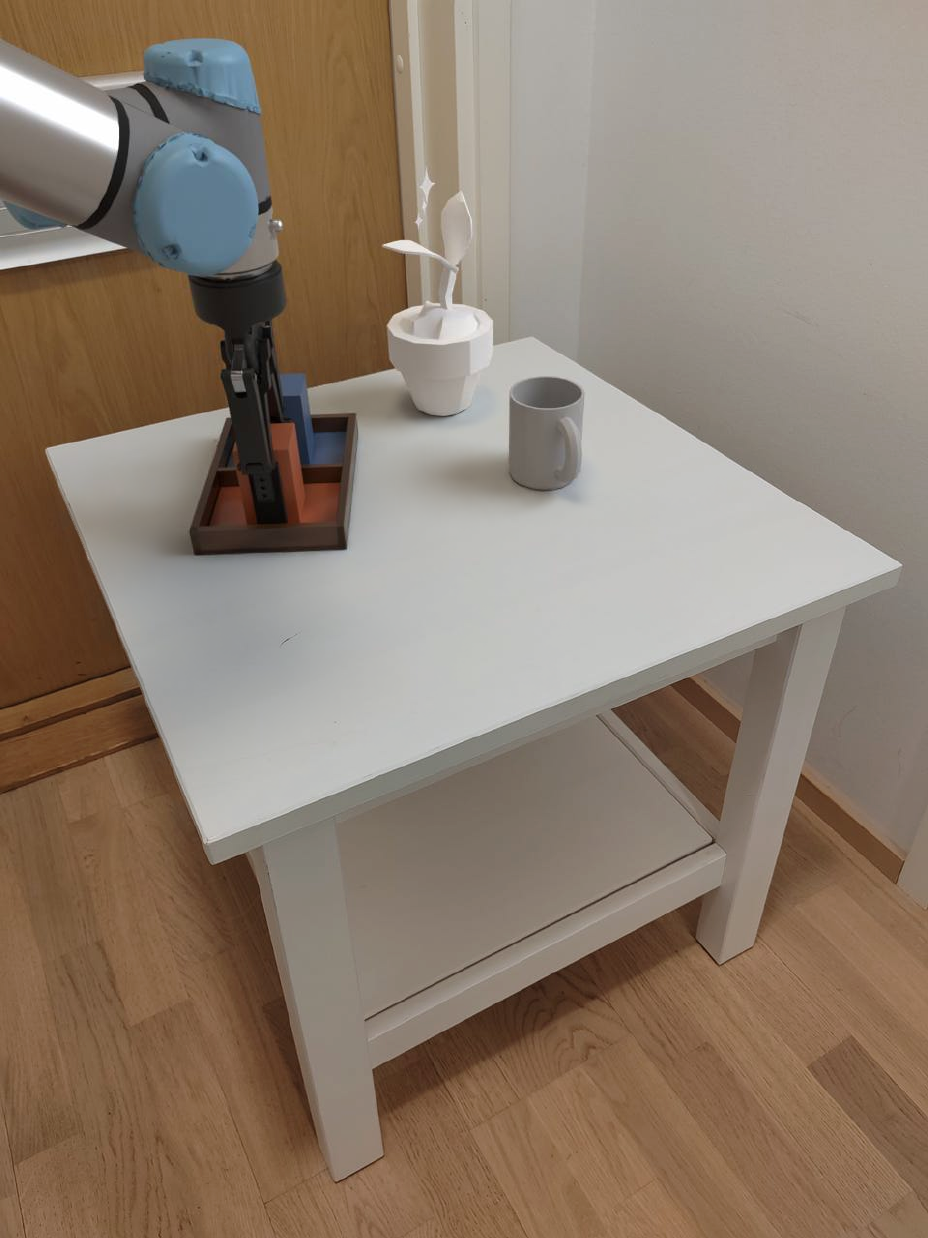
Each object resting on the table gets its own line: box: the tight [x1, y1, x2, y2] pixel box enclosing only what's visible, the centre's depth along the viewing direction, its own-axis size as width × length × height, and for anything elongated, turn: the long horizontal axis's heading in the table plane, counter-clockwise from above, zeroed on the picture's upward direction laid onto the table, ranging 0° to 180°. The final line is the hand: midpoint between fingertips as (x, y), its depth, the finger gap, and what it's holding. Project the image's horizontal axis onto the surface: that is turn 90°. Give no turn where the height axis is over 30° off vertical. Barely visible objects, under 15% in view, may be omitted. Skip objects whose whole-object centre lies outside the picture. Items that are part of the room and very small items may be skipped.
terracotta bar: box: [233, 423, 305, 525], centre depth 89 cm, size 5×5×8 cm
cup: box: [508, 375, 586, 491], centre depth 94 cm, size 7×10×9 cm
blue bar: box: [279, 372, 314, 465], centre depth 97 cm, size 5×5×8 cm
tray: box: [188, 412, 359, 556], centre depth 95 cm, size 14×22×3 cm, turn 2°
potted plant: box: [381, 165, 494, 417], centre depth 102 cm, size 13×12×25 cm
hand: (276, 508), depth 91 cm, fingers closed on terracotta bar, 5 cm apart
